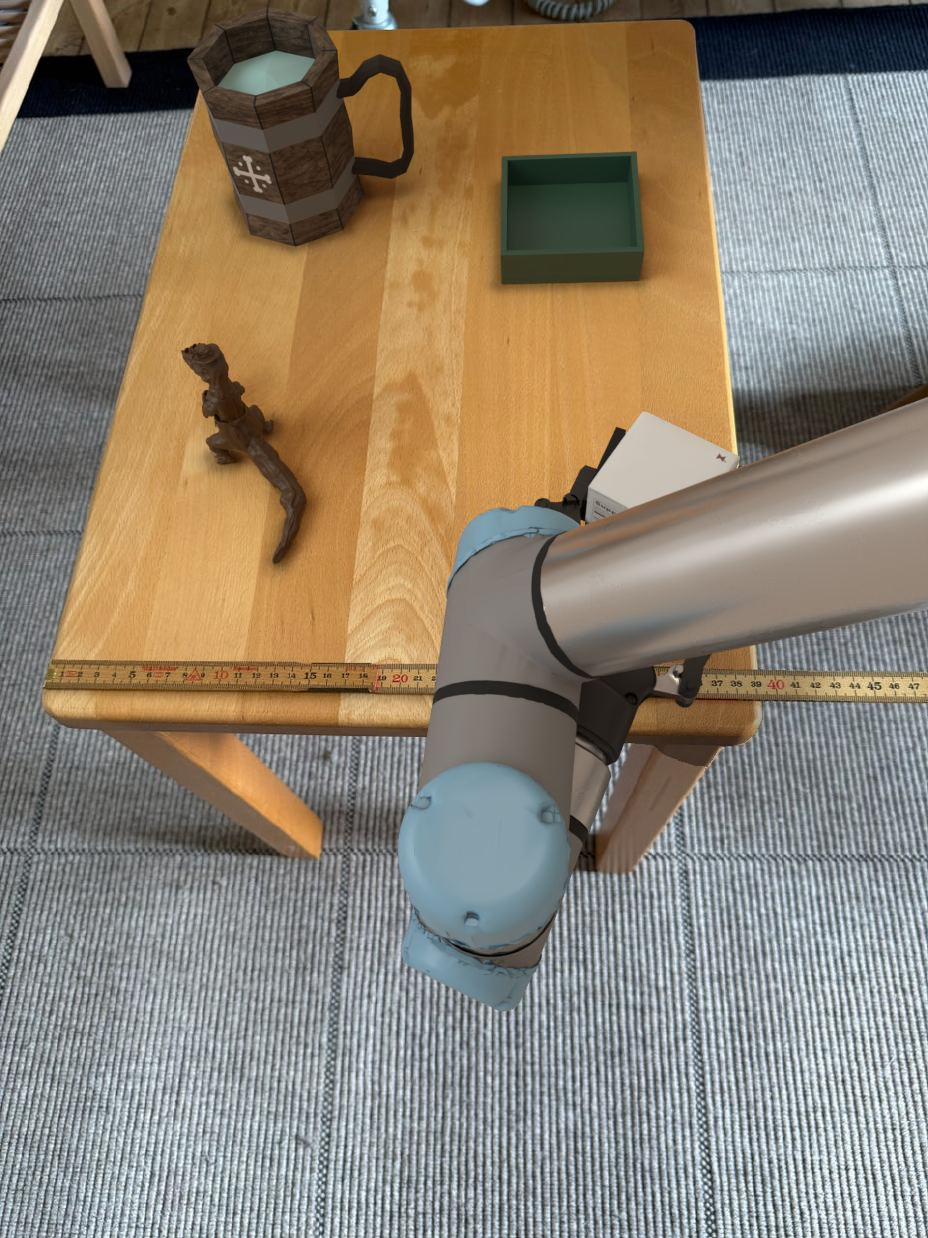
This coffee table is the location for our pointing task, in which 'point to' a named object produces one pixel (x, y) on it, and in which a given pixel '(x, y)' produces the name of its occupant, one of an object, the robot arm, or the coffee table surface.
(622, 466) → the white packaging box
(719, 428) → the coffee table surface
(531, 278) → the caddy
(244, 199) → the mug
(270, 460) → the brown dinosaur figurine
